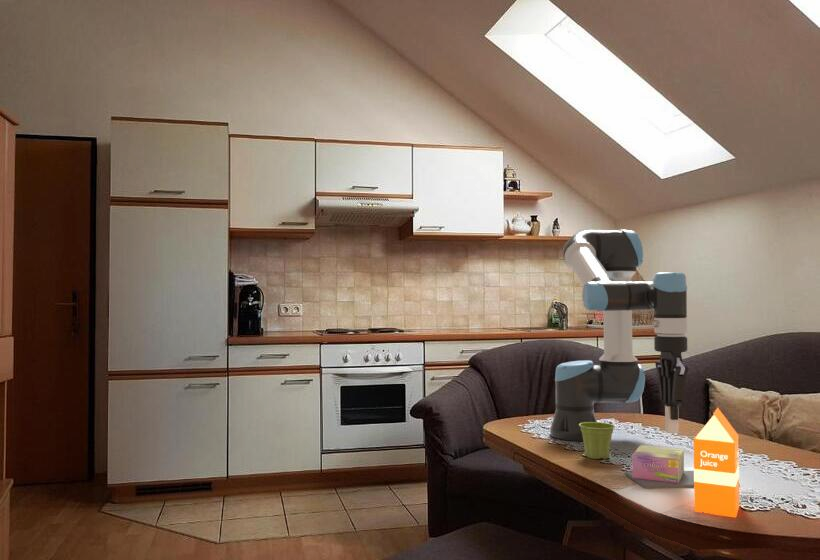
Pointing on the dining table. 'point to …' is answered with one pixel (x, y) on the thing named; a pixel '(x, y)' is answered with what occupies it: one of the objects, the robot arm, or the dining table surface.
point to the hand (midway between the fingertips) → (672, 432)
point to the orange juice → (716, 468)
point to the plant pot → (596, 439)
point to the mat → (685, 481)
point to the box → (658, 464)
